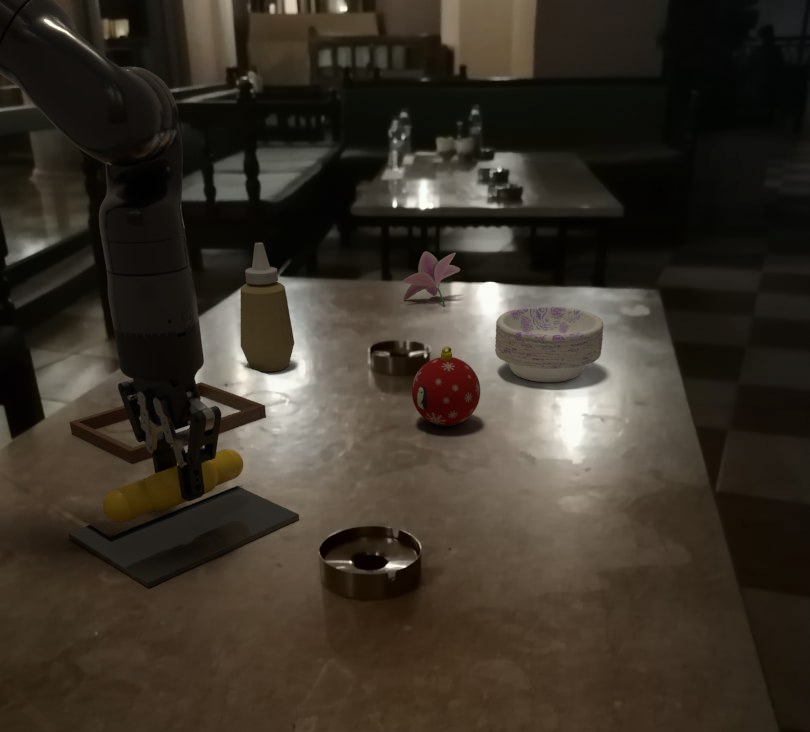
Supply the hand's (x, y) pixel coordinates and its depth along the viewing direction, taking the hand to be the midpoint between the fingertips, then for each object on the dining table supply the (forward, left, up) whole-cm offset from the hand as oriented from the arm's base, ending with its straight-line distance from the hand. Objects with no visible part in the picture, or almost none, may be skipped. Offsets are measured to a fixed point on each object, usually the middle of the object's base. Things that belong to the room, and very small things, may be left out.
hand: (181, 490), depth 89 cm
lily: (+84, +41, -4) cm, 94 cm away
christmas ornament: (+39, -1, -4) cm, 39 cm away
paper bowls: (+64, +1, -4) cm, 64 cm away
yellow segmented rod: (0, 0, -1) cm, 1 cm away
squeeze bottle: (+39, +34, -4) cm, 52 cm away
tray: (+14, +23, -4) cm, 27 cm away
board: (0, 0, -4) cm, 4 cm away
